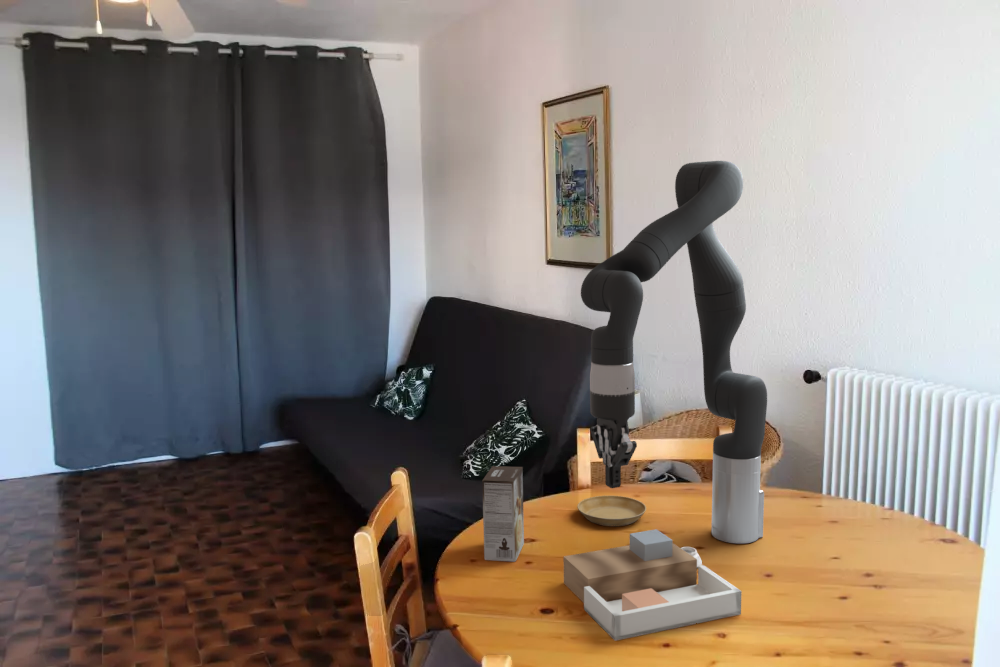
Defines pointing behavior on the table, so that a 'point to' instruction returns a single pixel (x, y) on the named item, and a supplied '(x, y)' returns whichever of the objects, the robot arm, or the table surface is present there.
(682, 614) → the box
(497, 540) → the coffee box
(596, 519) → the plant saucer
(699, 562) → the white jar
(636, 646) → the table surface
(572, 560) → the brown wooden slab
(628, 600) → the tile terracotta
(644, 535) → the blue grey flat block
